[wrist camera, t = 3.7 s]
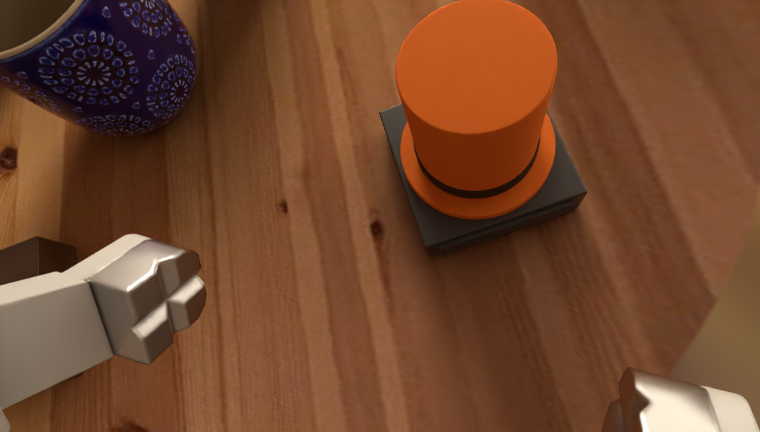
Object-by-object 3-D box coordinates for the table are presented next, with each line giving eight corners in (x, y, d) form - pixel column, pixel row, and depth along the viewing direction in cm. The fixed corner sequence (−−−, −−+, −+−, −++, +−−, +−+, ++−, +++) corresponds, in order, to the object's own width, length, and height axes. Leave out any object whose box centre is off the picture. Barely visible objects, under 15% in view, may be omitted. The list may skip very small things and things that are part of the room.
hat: (580, 188, 24) (625, 111, 17) (428, 240, 25) (406, 189, 17) (519, 63, 27) (533, -51, 19) (384, 113, 28) (349, 23, 20)
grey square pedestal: (580, 210, 26) (590, 195, 24) (430, 261, 27) (426, 252, 25) (518, 81, 29) (521, 57, 27) (386, 130, 30) (378, 111, 28)
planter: (244, 55, 35) (142, -77, 24) (161, 177, 33) (13, 92, 22) (144, 14, 38) (18, -117, 28) (65, 122, 36) (-102, 26, 26)
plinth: (82, 375, 30) (40, 376, 27) (-37, 415, 30) (-89, 421, 28) (75, 246, 33) (37, 235, 30) (-33, 286, 34) (-80, 279, 31)
